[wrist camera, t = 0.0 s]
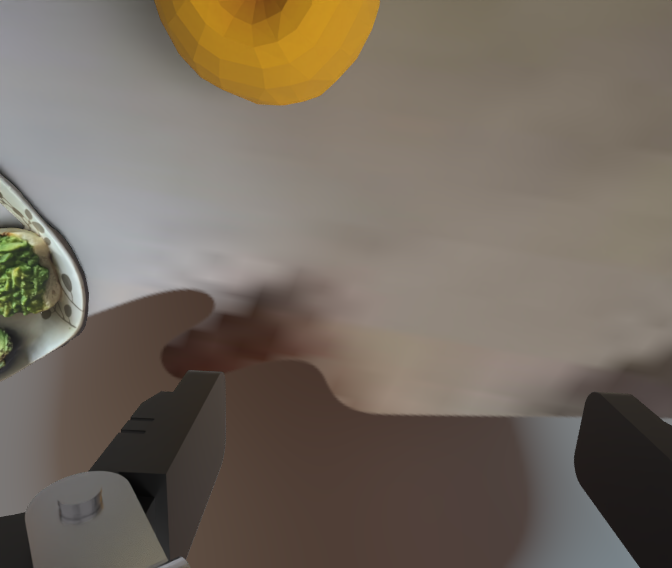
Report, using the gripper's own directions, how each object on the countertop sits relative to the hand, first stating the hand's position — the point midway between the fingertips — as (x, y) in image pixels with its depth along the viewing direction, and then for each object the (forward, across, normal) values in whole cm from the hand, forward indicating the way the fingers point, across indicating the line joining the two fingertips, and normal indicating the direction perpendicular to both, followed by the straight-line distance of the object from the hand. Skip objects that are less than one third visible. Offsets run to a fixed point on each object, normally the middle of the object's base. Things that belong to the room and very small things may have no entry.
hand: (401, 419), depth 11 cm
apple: (+21, +5, -13) cm, 25 cm away
